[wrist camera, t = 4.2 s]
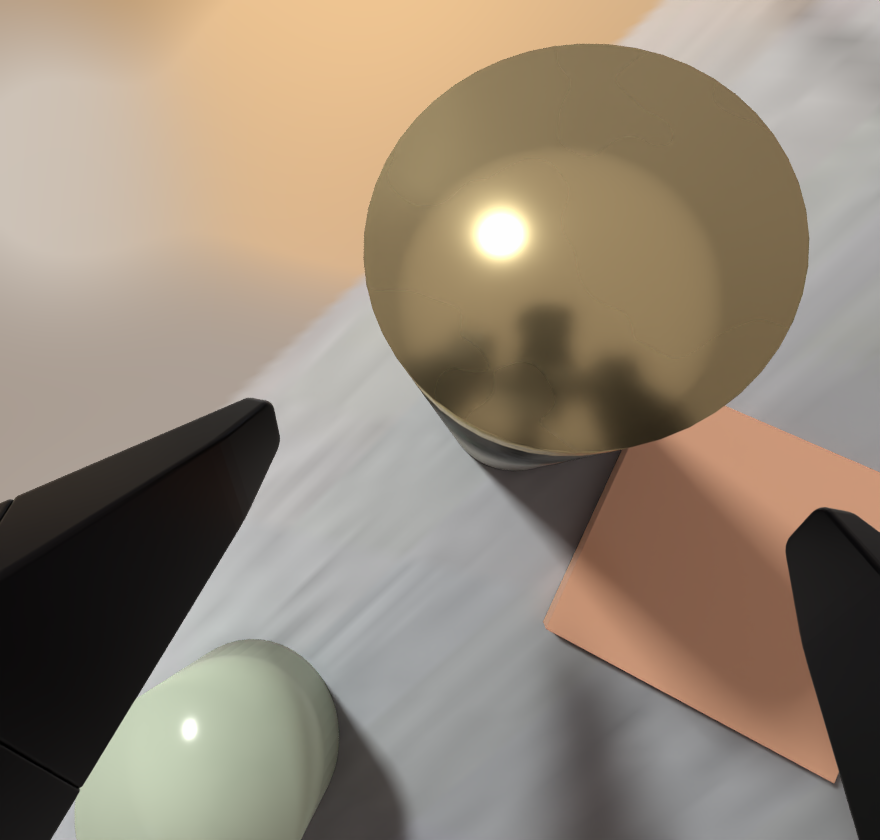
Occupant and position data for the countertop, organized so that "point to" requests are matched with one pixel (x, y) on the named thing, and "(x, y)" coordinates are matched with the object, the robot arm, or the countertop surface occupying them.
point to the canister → (584, 252)
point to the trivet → (712, 574)
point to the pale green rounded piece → (217, 753)
